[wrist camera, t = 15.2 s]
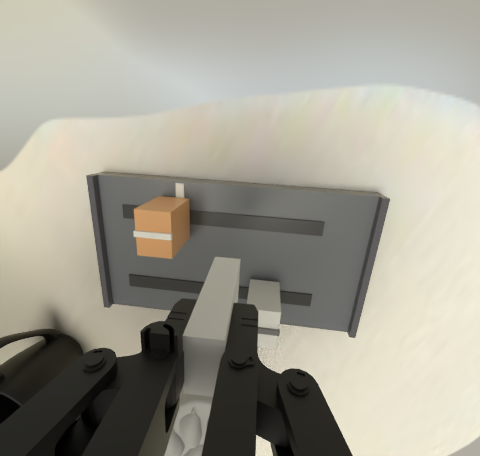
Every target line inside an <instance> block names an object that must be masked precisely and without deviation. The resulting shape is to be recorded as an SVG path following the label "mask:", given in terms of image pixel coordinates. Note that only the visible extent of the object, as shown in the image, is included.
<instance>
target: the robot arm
mask: <svg viewBox="0 0 480 456" xmlns="http://www.w3.org/2000/svg"><path fill="white" fill-rule="evenodd" d="M240 260H241V259H236V258H224V257H215V258H214V261H213V263H212V266H211V268H210V270H209V273H208V275H207V278H206V280H205V283H204V285H203V287H202V290H201V292H200V295H199V297H198V300H196V299H186V298H182V299H180V300H179V301H178V302H177V303H175V304H174V306H173V308H172V310H171V313H169V315H168V317H167V319H166V321H158V322H155V323H151V324H149V325H148V326H146V327H144V328H143V330H142V331H141V332H140V333H141V345H142V351H141V353H139V354H136V355H131V356H125V357H118V358H117V357H116V354H115V352H114V351H112V350H111V349H107V348H99V349H94V350H91V351H89V352H87V353H85V354H83V355H82V356H80V357H79V358H78V359H77V360H76V361H74V362H73V363H72V364H71V365H70V366H69V367H67V368H66V369H65V370H64V371H63V372H61V373H60V374H59V375H58V376H57V377H56V378H54V379H53V380H52V381H51V382H50V383H48V384H47V385H46V386H45V387H44V388H43V389H41V390H40V391H39V392H38V393H37V394H35V395H34V396H33V397H32V398H31V399H30V400H28V401H27V402H26V403H25V404H24V405H22V406H21V407H20V408H19V409H18V410H17V411H15V412H14V413H13V414H12V415H11V416H9V417H8V418H7V419H6V420H5V421H4V422H2V423H1V424H0V456H164V455H165V452H166V449H167V446H168V442H169V439H170V436H171V433H172V430H173V426H174V423H175V420H176V417H177V413H178V410H179V405H180V393H181V390H182V387H183V390H184V394H193V395H201V396H209V397H213V400H212V405H211V410H210V415H209V420H208V425H207V430H206V435H205V440H204V445H203V450H202V455H201V456H255V451H256V435H258V436H260V437H262V438H263V439H265V440H267V441H269V442H270V443H271V448H272V452H273V456H352V454H351V452H350V449H349V447H348V445H347V443H346V441H345V439H344V437H343V435H342V433H341V431H340V429H339V427H338V425H337V423H336V421H335V419H334V416H333V414H332V412H331V410H330V408H329V406H328V404H327V402H326V400H325V398H324V396H323V394H322V392H321V390H320V388H319V386H318V384H317V382H316V381H315V379H314V378H313V377H312V376H311V375H310V374H308V373H307V372H305V371H302V370H300V369H288V370H285V371H283V372H282V373H281V374H279V373H277V372H274V371H272V370H270V369H268V368H267V367H265V366H264V365H263V364H262V363H261V361H260V360H259V357H258V353H257V347H258V310H257V308H256V307H255V305H254V304H243V303H237V302H238V291H239V275H240Z"/></svg>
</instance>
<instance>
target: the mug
mask: <svg viewBox="0 0 480 456" xmlns="http://www.w3.org/2000/svg"><path fill="white" fill-rule="evenodd" d="M34 336H43V337H44V338H45V339H44V340H42V341H40V342H38V343H36V344H35V345H33V346H31V347H29V348H27V349H25V350H24V351H22V352H20V353H18V354H17V355H15V356H14V357H12V358H10V359H9V360H7V361H6V362H5V363H3V364H2V365H0V424H1V423H2V422H4V421H5V420H6V419H7V418H8V417H9V416H11V415H12V414H13V413H14V412H15V411H17V410H18V409H19V408H20V407H21V406H22V405H24V404H25V403H26V402H27V401H28V400H30V399H31V398H32V397H33V396H34V395H35V394H37V393H38V392H39V391H40V390H41V389H43V388H44V387H45V386H46V385H47V384H48V383H50V382H51V381H52V380H53V379H54V378H56V377H57V376H58V375H59V374H60V373H61V372H63V371H64V370H65V369H66V368H67V367H69V366H70V365H71V364H72V363H73V362H74V361H76V360H77V359H78V358H79V357H80V356H82V355H83V351H82V348H81V346H80V345H79V344H78V343H77V341H75V340H74V339H73V338H71V337H69V336H67V335H64V334H58V332H57V331H56V330H53V329H40V330H34V331H29V332H23V333H18V334H13V335H9V336H5V337H2V338H0V348H2V347H3V346H5V345H7V344H9V343H12V342H14V341H18V340H21V339H25V338H29V337H34Z"/></svg>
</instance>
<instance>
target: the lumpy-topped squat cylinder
mask: <svg viewBox="0 0 480 456" xmlns="http://www.w3.org/2000/svg"><path fill="white" fill-rule="evenodd" d="M212 400H213V397H209V396H201V395H193V394H184V390H183V387H182V390H181V393H180V405H179V410H178V413H177V417H176V420H175V423H174V426H173V430H172V433H171V436H170V439H169V442H168V446H167V449H166V452H165V455H164V456H201V455H202V450H203V445H204V440H205V435H206V430H207V425H208V420H209V415H210V410H211V405H212Z"/></svg>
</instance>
